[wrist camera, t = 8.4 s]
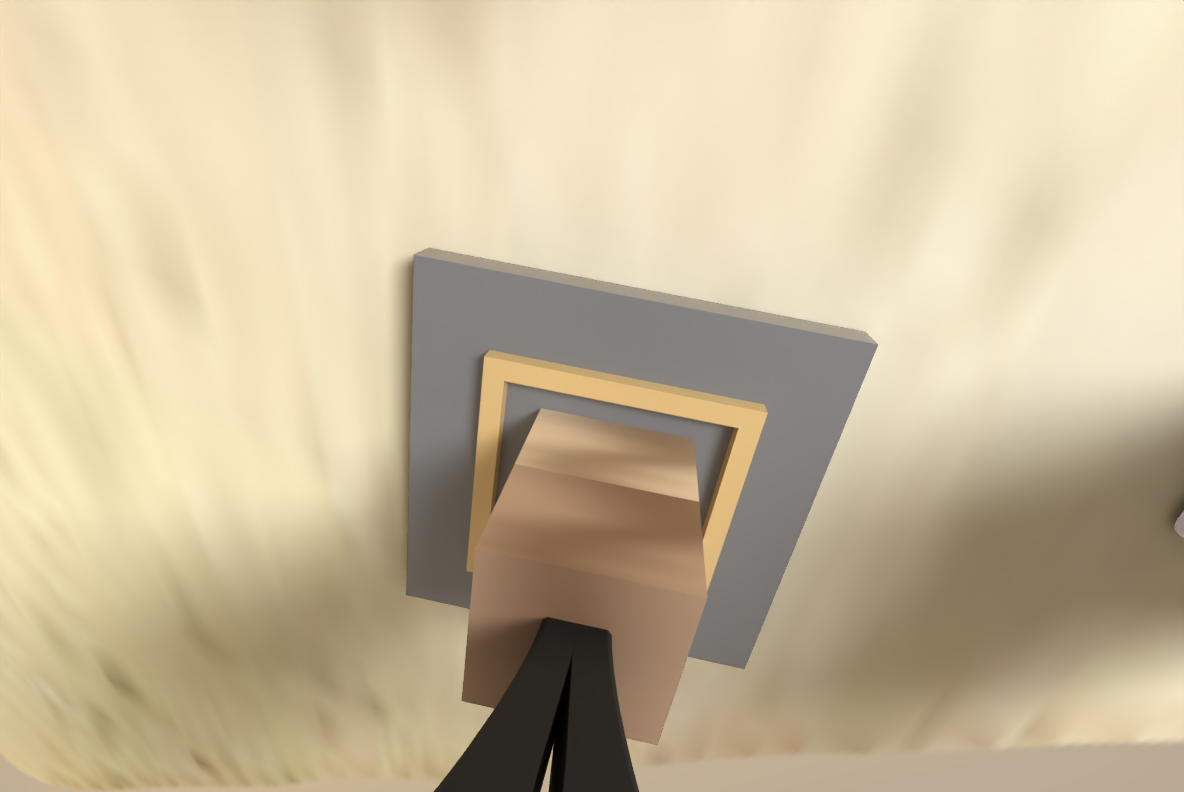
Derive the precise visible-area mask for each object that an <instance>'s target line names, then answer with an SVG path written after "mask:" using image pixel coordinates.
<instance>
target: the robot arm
mask: <svg viewBox="0 0 1184 792" xmlns="http://www.w3.org/2000/svg"><path fill="white" fill-rule="evenodd" d="M1174 528H1175V531H1176V533H1177V534H1178V535H1179V536H1181V537H1182V538H1183V539H1184V511H1183V512H1182V513H1181V515H1180V516H1179V517H1178V519H1177V521H1176V523H1175V525H1174ZM577 625H578V626H577ZM554 739H555V740H554ZM553 744H554V746H553ZM552 747H553V756H552V765H551V774H550V784H549V792H639V790H638V786H637V782H636V779H635V775H634V771H633V767H632V763H631V759H630V754H629V750H628V746H627V741H626V736H625V732H624V727H623V722H622V717H621V712H620V707H619V701H618V695H617V688H616V682H615V674H614V666H613V654H612V635H611V633H610V632H609V631H608V630H606V629H601V628H597V627H592V626H587V625H583V624H578V623H573V622H569V621H564V620H560V619H555V618H551V617H547V618H545V619H543V620H542V622H541V625H540V627H539V630H538V632H537V635H536V637H535V639H534V641H533V643H532V646H531V648H530V650H529V652H528V653H527V655H526V657H525V659H524V661H523V663H522V665H521V666H520V668H519V670H518V672H517V674H516V675H515V677H514V679H513V680H512V682H511V683H510V685H509V687H508V688H507V690H506V692H505V693H504V695H503V696H502V698H501V700H500V701H499V703H498V704H497V706H496V708H495V709H494V711H493V712H492V714H491V715H490V717H489V718H488V719H487V721H486V722H485V724H484V725H483V727H482V728H481V729H480V731H479V732H478V734H477V735H476V737H475V738H474V739H473V741H472V742H471V744H470V745H469V747H468V748H467V749H466V751H465V752H464V753H463V755H462V756H461V757H460V759H459V760H458V761H457V763H456V764H455V765H454V767H453V768H452V769H451V771H450V772H449V773H448V775H447V776H446V777H445V778H444V780H443V781H442V782H441V783H440V785H439V786H438V787H437V788H436V790H435V791H434V792H540V791H541V787H542V784H543V780H544V777H545V773H546V769H547V766H548V762H549V758H550V755H551V751H552Z"/></svg>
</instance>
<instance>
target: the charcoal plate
mask: <svg viewBox="0 0 1184 792" xmlns="http://www.w3.org/2000/svg"><path fill="white" fill-rule="evenodd" d="M877 346H878V344H877V343H876V342H875V341H874V340H873V339H872V338H871V337H870V336H869V335H868V334H867V333H866V332H863V331H858V330H853V329H848V328H842V327H837V326H832V325H827V324H822V323H816V322H811V321H806V320H801V319H796V318H790V317H785V316H780V315H775V314H770V313H764V312H759V311H754V310H749V309H744V308H738V307H733V306H728V305H723V304H718V303H712V302H707V301H702V300H697V299H692V298H686V297H681V296H676V295H671V294H666V293H660V292H655V291H650V290H645V289H640V288H634V287H629V286H624V285H619V284H613V283H608V282H603V281H598V280H593V279H587V278H582V277H577V276H572V275H567V274H561V273H556V272H551V271H546V270H541V269H535V268H530V267H525V266H520V265H515V264H509V263H504V262H499V261H494V260H489V259H483V258H478V257H473V256H468V255H463V254H457V253H452V252H447V251H442V250H437V249H431V248H428V249H425V250H423V251H421V252H419V253H417V254H415V255H414V266H413V312H412V358H411V404H410V450H409V496H408V543H407V589H406V595H409V596H414V597H418V598H423V599H428V600H432V601H437V602H441V603H446V604H450V605H455V606H460V607H464V608H469V609H470V602H471V591H472V580H473V568H474V557H475V548H476V546H477V543H478V541H479V539H480V537H481V535H482V533H483V531H484V529H485V526H486V524H487V522H488V520H489V518H490V516H491V514H492V511H493V509H494V507H495V505H496V503H497V501H498V499H499V496H500V494H501V492H502V490H503V488H504V486H505V484H506V482H507V479H508V477H509V475H510V473H511V471H512V469H513V467H514V464H515V462H516V460H517V458H518V456H519V454H520V452H521V450H522V447H523V445H524V443H525V441H526V439H527V437H528V435H529V432H530V430H531V428H532V426H533V424H534V422H535V420H536V418H537V415H538V413H539V411H540V409H541V408H543V409H548V410H553V411H558V412H563V413H567V414H572V415H577V416H582V417H587V418H592V419H597V420H602V421H607V422H612V423H617V424H622V425H627V426H632V427H637V428H642V429H647V430H652V431H657V432H662V433H667V434H671V435H676V436H681V437H686V438H691V439H694V447H695V459H696V470H697V482H698V494H699V505H700V517H701V528H702V540H703V552H704V563H705V575H706V586H707V601H706V604H705V607H704V609H703V612H702V615H701V618H700V621H699V624H698V627H697V630H696V633H695V636H694V639H693V642H692V645H691V648H690V651H689V654H688V657H692V658H697V659H701V660H706V661H710V662H715V663H720V664H724V665H729V666H733V667H738V668H742V669H745V666H746V664H747V661H748V659H749V656H750V654H751V652H752V649H753V647H754V644H755V642H756V640H757V637H758V635H759V632H760V630H761V627H762V625H763V623H764V620H765V618H766V615H767V613H768V610H769V608H770V606H771V603H772V601H773V598H774V596H775V593H776V591H777V589H778V586H779V584H780V581H781V579H782V576H783V574H784V572H785V569H786V567H787V564H788V562H789V560H790V557H791V555H792V552H793V550H794V547H795V545H796V543H797V540H798V538H799V535H800V533H801V530H802V528H803V526H804V523H805V521H806V518H807V516H808V513H809V511H810V509H811V506H812V504H813V501H814V499H815V496H816V494H817V492H818V489H819V487H820V484H821V482H822V479H823V477H824V475H825V472H826V470H827V467H828V465H829V463H830V460H831V458H832V455H833V453H834V450H835V448H836V446H837V443H838V441H839V438H840V436H841V433H842V431H843V429H844V426H845V424H846V421H847V419H848V416H849V414H850V412H851V409H852V407H853V404H854V402H855V399H856V397H857V395H858V392H859V390H860V387H861V385H862V382H863V380H864V378H865V375H866V373H867V370H868V368H869V366H870V363H871V361H872V358H873V356H874V353H875V351H876V349H877Z"/></svg>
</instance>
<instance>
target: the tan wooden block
mask: <svg viewBox="0 0 1184 792" xmlns="http://www.w3.org/2000/svg"><path fill="white" fill-rule="evenodd" d="M706 601H707V586H706V575H705V563H704V552H703V540H702V528H701V517H700V505H699V494H698V482H697V470H696V459H695V447H694V439H691V438H686V437H681V436H676V435H671V434H667V433H662V432H657V431H652V430H647V429H642V428H637V427H632V426H627V425H622V424H617V423H612V422H607V421H602V420H597V419H592V418H587V417H582V416H577V415H572V414H567V413H563V412H558V411H553V410H548V409H543V408H541V409H540V411H539V413H538V415H537V418H536V420H535V422H534V424H533V426H532V428H531V430H530V432H529V435H528V437H527V439H526V441H525V443H524V445H523V447H522V450H521V452H520V454H519V456H518V458H517V460H516V462H515V464H514V467H513V469H512V471H511V473H510V475H509V477H508V479H507V482H506V484H505V486H504V488H503V490H502V492H501V494H500V496H499V499H498V501H497V503H496V505H495V507H494V509H493V511H492V514H491V516H490V518H489V520H488V522H487V524H486V526H485V529H484V531H483V533H482V535H481V537H480V539H479V541H478V543H477V546H476V548H475V557H474V568H473V580H472V591H471V602H470V613H469V625H468V636H467V647H466V658H465V670H464V681H463V692H462V701H464V702H469V703H473V704H478V705H482V706H486V707H491V708H496V706H497V704H498V703H499V701H500V700H501V698H502V696H503V695H504V693H505V692H506V690H507V688H508V687H509V685H510V683H511V682H512V680H513V679H514V677H515V675H516V674H517V672H518V670H519V668H520V666H521V665H522V663H523V661H524V659H525V657H526V655H527V653H528V652H529V650H530V648H531V646H532V643H533V641H534V639H535V637H536V635H537V632H538V630H539V627H540V625H541V622H542V620H543V619H545V618H547V617H551V618H555V619H560V620H564V621H569V622H573V623H578V624H583V625H587V626H592V627H597V628H601V629H606V630H608V631H609V632H610V633H611V635H612V654H613V666H614V674H615V682H616V688H617V695H618V701H619V707H620V712H621V717H622V722H623V727H624V732H625V736H626V738H628V739H632V740H637V741H641V742H646V743H650V744H655V745H658V742H659V739H660V736H661V733H662V730H663V727H664V724H665V721H666V718H667V715H668V712H669V709H670V706H671V703H672V700H673V698H674V695H675V692H676V689H677V686H678V683H679V680H680V677H681V674H682V671H683V668H684V665H685V662H686V659H687V656H688V654H689V651H690V648H691V645H692V642H693V639H694V636H695V633H696V630H697V627H698V624H699V621H700V618H701V615H702V612H703V609H704V607H705V604H706ZM577 626H578V625H577Z"/></svg>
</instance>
